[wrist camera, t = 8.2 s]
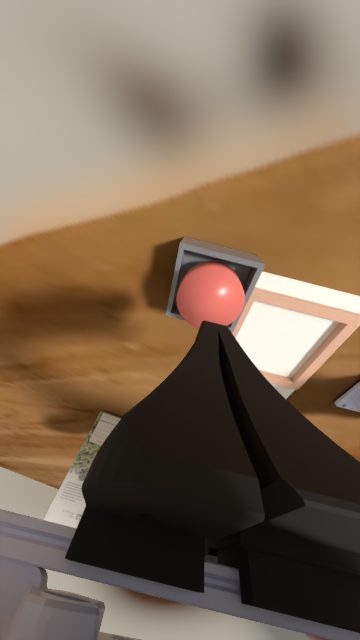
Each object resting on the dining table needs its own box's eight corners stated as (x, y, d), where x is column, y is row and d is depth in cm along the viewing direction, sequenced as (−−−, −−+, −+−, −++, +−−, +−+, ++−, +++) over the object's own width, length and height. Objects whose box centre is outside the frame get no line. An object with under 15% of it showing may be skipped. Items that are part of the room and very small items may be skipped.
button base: (256, 254, 15) (265, 264, 13) (229, 315, 19) (232, 332, 16) (184, 236, 15) (179, 242, 13) (171, 300, 19) (165, 315, 16)
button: (251, 270, 14) (257, 279, 12) (227, 322, 16) (230, 335, 15) (187, 253, 14) (184, 260, 12) (174, 309, 16) (171, 320, 15)
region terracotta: (360, 313, 17) (366, 318, 16) (294, 384, 23) (297, 390, 22) (247, 284, 17) (248, 288, 16) (211, 363, 23) (211, 368, 22)
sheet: (377, 300, 16) (378, 301, 16) (245, 440, 32) (245, 441, 32) (253, 269, 16) (253, 269, 16) (183, 425, 32) (183, 425, 32)
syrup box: (97, 423, 36) (41, 532, 24) (101, 408, 33) (38, 526, 21) (124, 432, 37) (83, 543, 25) (130, 418, 33) (86, 539, 21)
